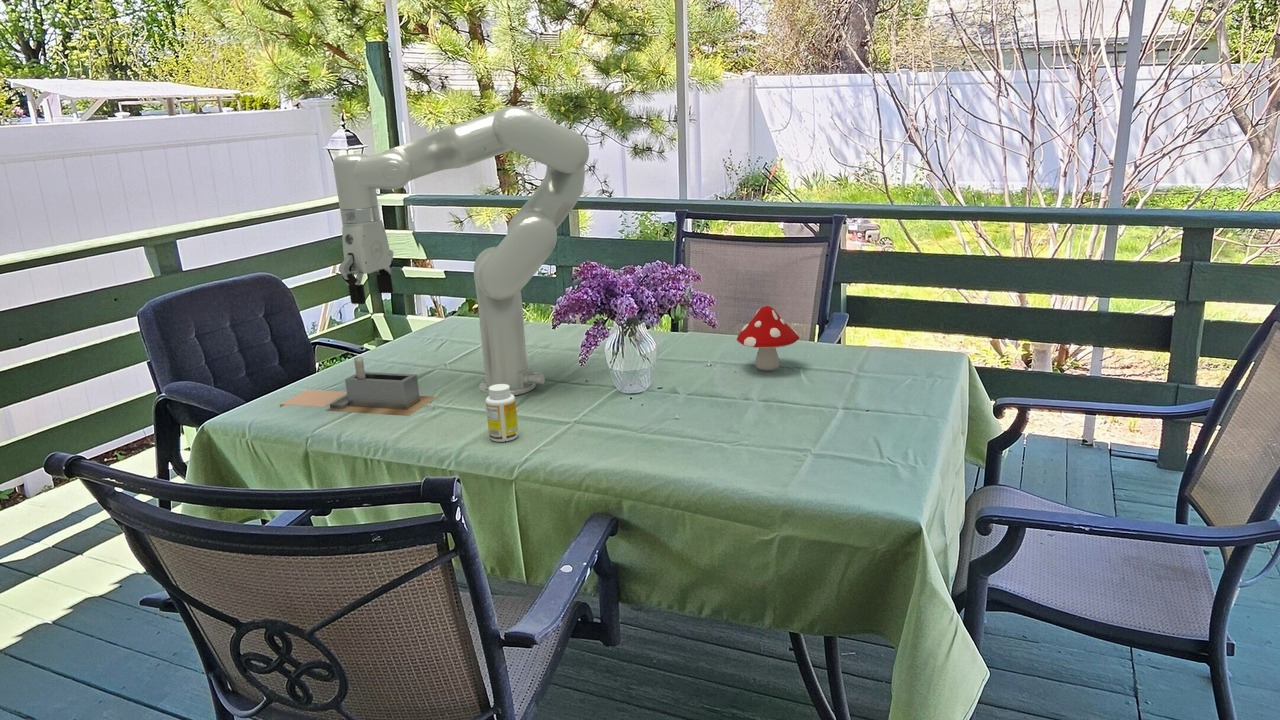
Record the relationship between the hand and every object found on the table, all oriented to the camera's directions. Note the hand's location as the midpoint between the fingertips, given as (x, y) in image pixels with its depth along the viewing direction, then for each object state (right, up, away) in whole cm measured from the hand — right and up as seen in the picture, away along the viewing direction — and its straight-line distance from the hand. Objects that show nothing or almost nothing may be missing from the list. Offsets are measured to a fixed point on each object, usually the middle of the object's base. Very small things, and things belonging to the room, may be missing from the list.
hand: (372, 298), depth 188 cm
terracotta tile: (-16, -22, +10) cm, 29 cm away
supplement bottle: (+30, -28, -16) cm, 44 cm away
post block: (+1, -23, +4) cm, 23 cm away
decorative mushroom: (+85, -15, +17) cm, 88 cm away
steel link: (+1, -22, +4) cm, 23 cm away
